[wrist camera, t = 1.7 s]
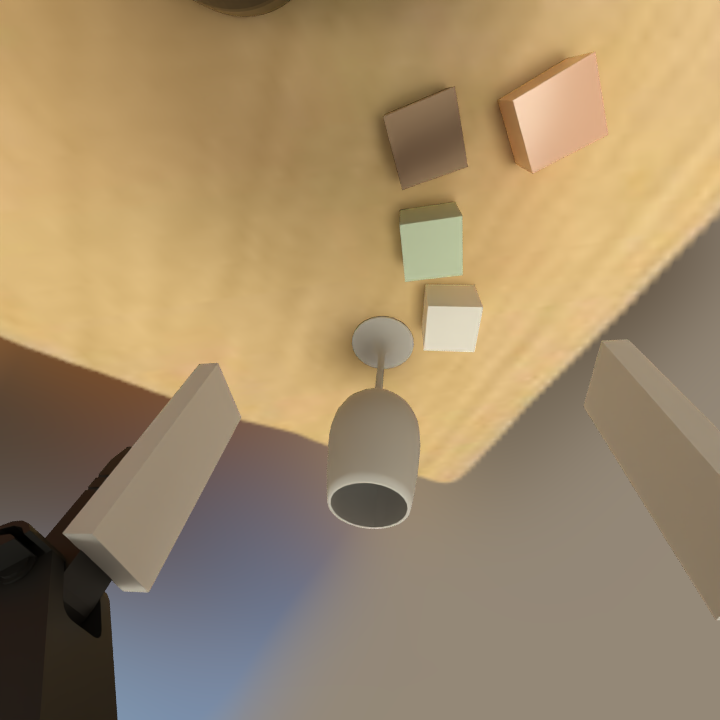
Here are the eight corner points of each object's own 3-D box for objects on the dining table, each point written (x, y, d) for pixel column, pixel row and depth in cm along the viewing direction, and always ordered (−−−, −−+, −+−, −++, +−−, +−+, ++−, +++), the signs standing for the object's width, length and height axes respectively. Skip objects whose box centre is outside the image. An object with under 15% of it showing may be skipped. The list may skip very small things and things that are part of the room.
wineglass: (412, 311, 39) (419, 471, 23) (417, 366, 44) (425, 535, 27) (345, 317, 41) (304, 473, 24) (356, 370, 45) (327, 534, 28)
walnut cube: (385, 114, 29) (383, 116, 25) (447, 88, 28) (454, 86, 24) (402, 178, 32) (402, 189, 28) (459, 157, 31) (467, 166, 27)
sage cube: (399, 209, 33) (399, 225, 29) (455, 201, 33) (462, 216, 29) (405, 261, 36) (405, 281, 32) (455, 255, 35) (462, 275, 31)
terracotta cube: (497, 100, 28) (513, 100, 24) (565, 58, 26) (595, 51, 22) (515, 163, 30) (532, 173, 26) (579, 129, 29) (608, 134, 25)
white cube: (425, 283, 37) (428, 306, 33) (474, 284, 37) (483, 307, 33) (421, 325, 40) (423, 350, 36) (467, 326, 40) (474, 352, 36)
